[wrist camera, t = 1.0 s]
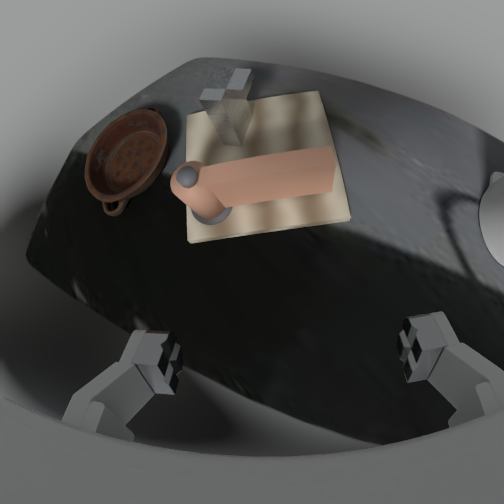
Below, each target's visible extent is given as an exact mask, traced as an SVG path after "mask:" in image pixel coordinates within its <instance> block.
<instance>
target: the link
mask: <svg viewBox="0 0 504 504" xmlns="http://www.w3.org/2000/svg"><path fill="white" fill-rule="evenodd" d="M335 167H336V163H335V159H334V155H333V151H332V147H331V146H325V147H317V148H309V149H301V150H294V151H287V152H281V153H274V154H268V155H262V156H257V157H251V158H245V159H240V160H235V161H230V162H225V163H220V164H215V165H210V166H205V165H204V164H203V163H201V162H199V161H189V162H186V163H184V164H182V165H180V166H179V167H178V168H177V169H176V170H175V172H174V173H173V175H172V178H171V189H172V191H173V193H174V194H175V195H176V196H177V197H178V198H179V199H181V200H182V201H183V202H184V203H185V204H186V205H188V206H189V207H190V208H191V209H192V210H193V211H194V212H196V213H197V214H198V215H199V216H200V217H202V218H205V219H212V218H215V217H217V216H219V215H220V214H221V213H222V212H223V211H224V210H225V208H227V207H233V206H239V205H245V204H251V203H258V202H264V201H270V200H277V199H284V198H291V197H298V196H305V195H312V194H320V193H327V192H332V188H333V181H334V174H335Z"/></svg>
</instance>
